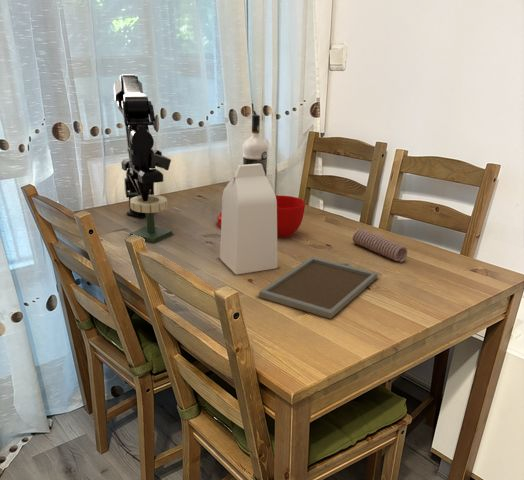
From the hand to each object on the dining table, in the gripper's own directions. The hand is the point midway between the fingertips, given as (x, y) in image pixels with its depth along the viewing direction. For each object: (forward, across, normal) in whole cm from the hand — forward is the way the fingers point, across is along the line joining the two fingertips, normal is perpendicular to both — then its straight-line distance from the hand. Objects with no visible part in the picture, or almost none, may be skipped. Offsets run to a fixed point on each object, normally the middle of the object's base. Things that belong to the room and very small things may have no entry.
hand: (144, 200), depth 164 cm
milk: (+10, -36, -16) cm, 40 cm away
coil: (+10, -45, -54) cm, 70 cm away
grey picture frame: (+10, -56, -26) cm, 63 cm away
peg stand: (+10, -4, 0) cm, 10 cm away
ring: (+1, -4, 0) cm, 4 cm away
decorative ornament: (+10, -6, -26) cm, 29 cm away
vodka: (+10, +7, -42) cm, 44 cm away
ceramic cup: (+10, -18, -37) cm, 42 cm away
